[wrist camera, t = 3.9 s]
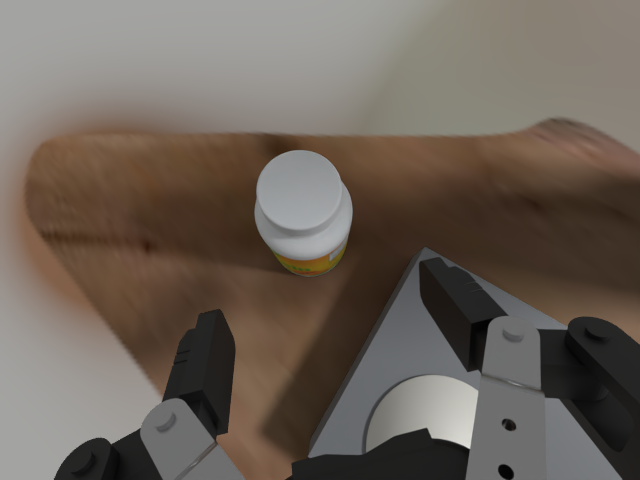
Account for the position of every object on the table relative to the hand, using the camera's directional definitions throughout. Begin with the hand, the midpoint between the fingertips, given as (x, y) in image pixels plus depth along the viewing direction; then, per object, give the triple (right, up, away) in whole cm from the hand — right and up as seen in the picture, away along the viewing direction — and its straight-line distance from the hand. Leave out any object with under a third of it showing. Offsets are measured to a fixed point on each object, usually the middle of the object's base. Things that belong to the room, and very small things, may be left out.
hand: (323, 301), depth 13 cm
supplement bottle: (-1, +2, +11) cm, 12 cm away
